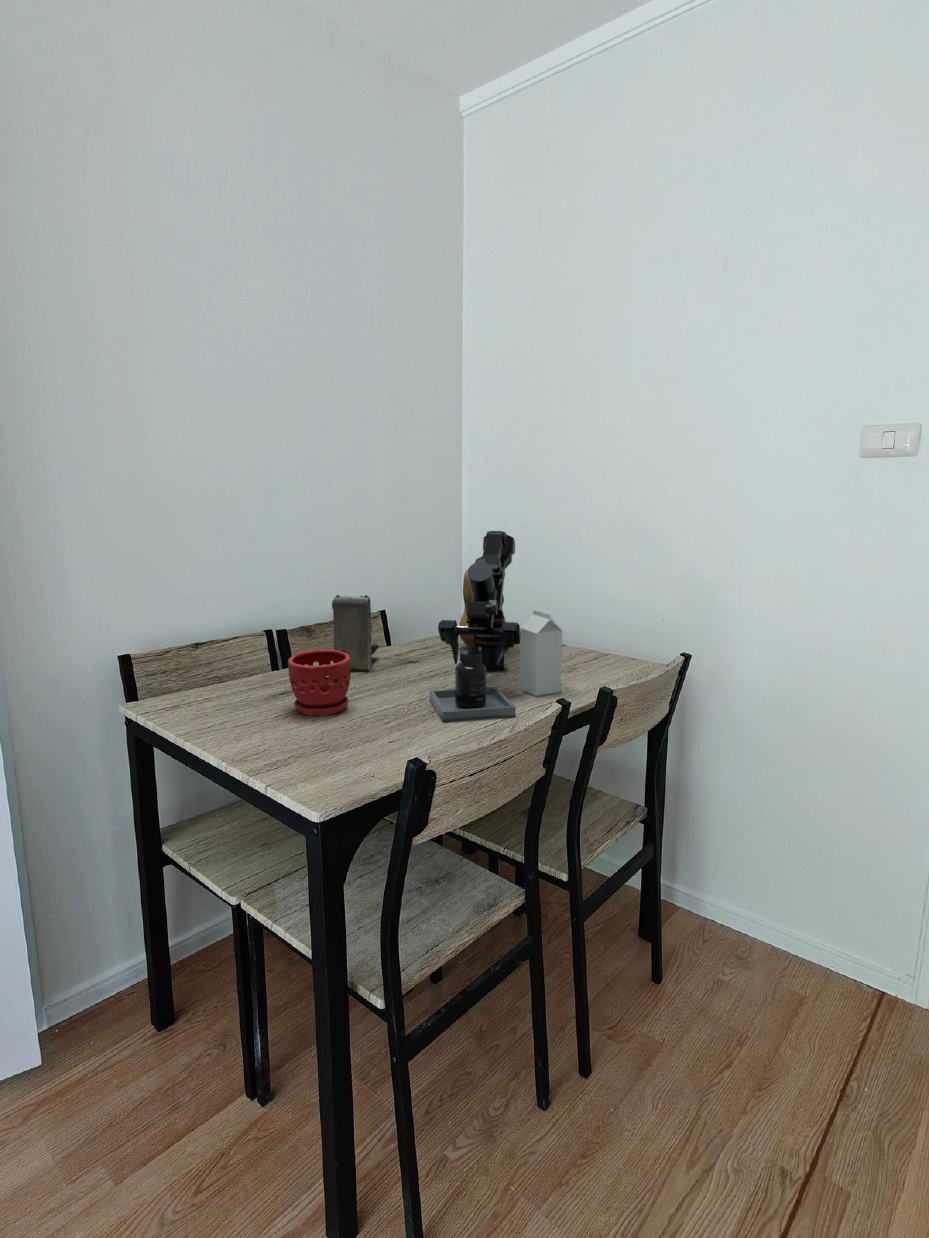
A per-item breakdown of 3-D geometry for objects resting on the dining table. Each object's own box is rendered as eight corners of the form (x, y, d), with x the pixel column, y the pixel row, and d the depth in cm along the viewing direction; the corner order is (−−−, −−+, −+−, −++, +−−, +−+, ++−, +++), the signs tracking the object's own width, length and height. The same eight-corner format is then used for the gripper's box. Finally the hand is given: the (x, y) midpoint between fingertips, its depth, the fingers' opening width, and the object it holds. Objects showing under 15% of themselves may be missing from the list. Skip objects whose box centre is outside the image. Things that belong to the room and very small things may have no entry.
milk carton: (535, 697, 166) (537, 616, 162) (519, 689, 172) (520, 611, 168) (560, 692, 169) (563, 613, 165) (544, 685, 175) (545, 608, 171)
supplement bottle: (448, 703, 158) (448, 651, 156) (473, 698, 162) (474, 646, 160) (467, 712, 153) (467, 657, 151) (492, 706, 157) (493, 653, 154)
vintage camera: (382, 659, 201) (380, 588, 198) (370, 672, 186) (367, 596, 183) (348, 659, 202) (346, 588, 199) (333, 671, 187) (330, 595, 184)
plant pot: (286, 704, 160) (283, 652, 157) (344, 698, 165) (342, 647, 162) (295, 723, 148) (292, 666, 146) (358, 715, 153) (356, 660, 150)
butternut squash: (458, 655, 204) (458, 567, 199) (458, 644, 217) (458, 562, 212) (507, 655, 204) (508, 567, 199) (504, 644, 217) (505, 562, 213)
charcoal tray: (495, 695, 167) (495, 686, 166) (515, 716, 152) (515, 706, 151) (429, 699, 163) (429, 690, 163) (442, 722, 148) (442, 712, 148)
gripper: (439, 585, 165) (429, 643, 157) (520, 587, 162) (514, 647, 154) (446, 612, 174) (437, 668, 166) (522, 615, 171) (517, 672, 163)
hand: (475, 663), depth 162 cm, fingers open, 9 cm apart
